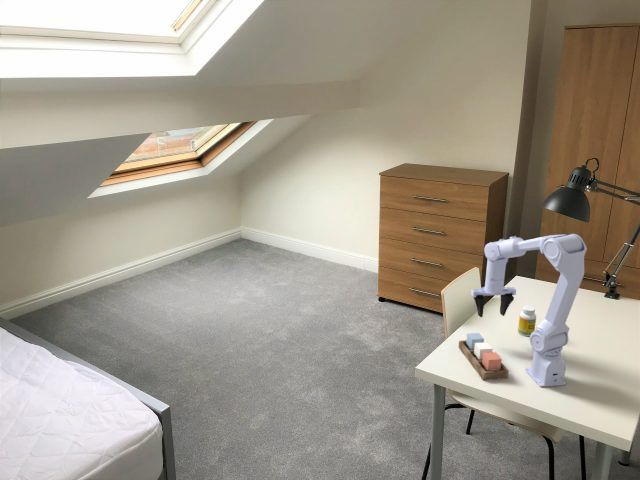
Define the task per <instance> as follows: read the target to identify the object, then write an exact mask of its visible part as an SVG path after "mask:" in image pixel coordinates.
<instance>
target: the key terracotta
mask: <svg viewBox="0 0 640 480" xmlns="http://www.w3.org/2000/svg"><path fill="white" fill-rule="evenodd" d="M481 360H482V364H483V365H484V366H485V368H484V369H486V371H496V370H499V369H501V362H502V360H503V359H502V358H501V357H500V355H499V354H498V353H497V352H496V351H492V353H483V359H481Z"/></svg>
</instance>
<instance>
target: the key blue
mask: <svg viewBox="0 0 640 480" xmlns="http://www.w3.org/2000/svg"><path fill="white" fill-rule="evenodd" d="M466 340H467V341H466V343H467V345H468V346H469V347H470V348H469V350H474V347H475V343H483V342H485V338H484V336H482V334H481V333H480V332H473V333H470V332H469V333H467V334H466Z"/></svg>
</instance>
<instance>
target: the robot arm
mask: <svg viewBox="0 0 640 480" xmlns="http://www.w3.org/2000/svg"><path fill="white" fill-rule="evenodd" d="M483 249H484V251H483V252H484V256H485V258H486V259H487V262H486V272H485V273H486V274H485V282H484V286H482V287H480V288H475V289H471V290H470V296H471V297H472V298H473V301H474V303H475V305H476V310H477V316H479V318H483V315H484V307H485V305H486V300H485V297H487V296H500V305H499V314H500V315H501V316H503V317H505V316H506V312H507V310H508V308H509V307H510V305H511V304H512V302H513V301H514V299H515V297H514V296H516V295H517V289H516V288H515V287H512V286H507V287H506V286H504V285H505V275H506V268H507V267H506V266H507V263H508V261H509V259H510V258H518V257H522V256H524V255H525V254H526V253H527V251H537V250H540V253H541V254H542V255H543V254H544V256H545V258H546V259H547V260H548V261H549V263H550V264H551V265H552V267H554V269H555V270H556V271H557V272H559V273H560V275H559V277H558V280H557V283H556V286H555V289H554V292H553V294H552V298H551V301H550V302H549V305H548V309H547V312H546V313H545V314H546V315H545V317H544V319H543V320H542V321H541V322H540V323H538V325H536V326H535V331H534V332H533V333H531V335H530V336H529V344H530V346H531V348H532V350H533V354H532V361H531V363H532V364H531V367H525V368H524V370H525V372H526V373H527V374H528V375H529V376H530V377H531V378H532V379H533V381H534V382H536V383H537V385H539V387H545V388H546V387H554V386H565V385H567V383H566V382H565V374H566V363H565V361H564V360H563V358H562V355H561V354H562V351H563V348H564V347H565V346H566V345H567V344H568V342H569V331H570V327H569V326H568V325H567V323H566V322H567V321H568V317H569V315H570V312H571V310H572V307H573V304H574V302H575V299H576V297H577V294H578V291H579V289H580V286H581V284H582V281H583V279H584V275H585V255H586V253H587V250H588V248H587V246H586V243H585V242H584V240H583V238H582V236H580V235H578V234H576V233H570V234H568V235H567V234H551V235H545V236H540V237H535V238H531V239H526V240H524V239H523V238H522V237H517V235H514V236H510V237H509V238H508V239H504V238H500V239H499V240H498V241H493V242H491V241H490V242H489V243H487V244H485V246H484V248H483Z"/></svg>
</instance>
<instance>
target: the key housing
mask: <svg viewBox="0 0 640 480" xmlns="http://www.w3.org/2000/svg"><path fill="white" fill-rule="evenodd" d="M466 341H467V339H465V340H458V349H459V350H460V352H461V353H462V354H463V355H464V357H465V359H466V360H467V361H468V362H469V364H470V365H471V366H472V368H473V369H474V370H475V371H476V373H477V374H478V376H479V377H480V378H481V380H482V381H489V380H490V381H493V380H504V379H508V378H509V373H510V370H509V369H508V368H507V367H506V366H505V364H503V362H502V361H501V369H499V370H485V369H486V368H485V366H484V365H483V364H482V360H483V359H480V360H479V359H478V357H477V356H476V355H475V354H474V349H470V347H469V346H468V345H467V343H466ZM477 359H478V360H477Z"/></svg>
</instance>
